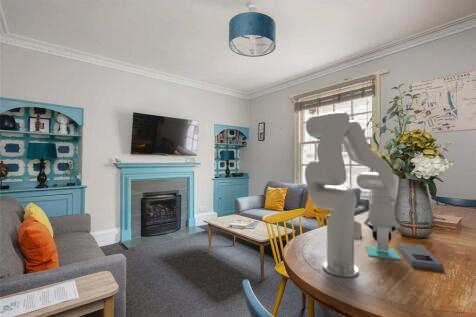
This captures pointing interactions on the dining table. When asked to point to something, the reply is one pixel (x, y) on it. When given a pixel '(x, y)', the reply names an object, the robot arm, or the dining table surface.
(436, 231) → the dining table surface
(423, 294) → the dining table surface
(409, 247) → the slotted plate
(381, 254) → the mat
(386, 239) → the steel block
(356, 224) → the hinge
